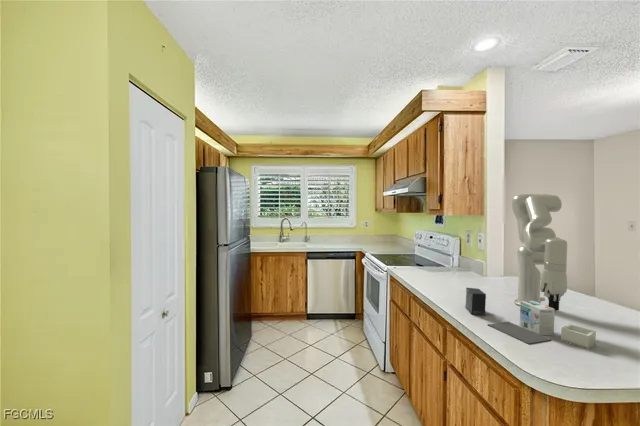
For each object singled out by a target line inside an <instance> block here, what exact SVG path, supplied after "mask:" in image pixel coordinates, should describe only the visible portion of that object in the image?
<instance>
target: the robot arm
mask: <svg viewBox="0 0 640 426" xmlns="http://www.w3.org/2000/svg"><path fill="white" fill-rule="evenodd" d="M511 200H512V201H511V207H512V212H513V214H514V216H515V218H516V222H517V230H518V231H517V232H518V233H517V234H518V238H519V241H520V243H522V244H524V245H523V246H520V247H519V248H518V249H517V251H516V254H517V262H518V283H517V284H518V287H517V298H516V299H515V300H514V301H513V302H514V304H515V305H517V306H519V307H521V301H536V302H538V303H541V304H542V302H545V301H546V298H545V297H547V301H548V305H547V306H548V307H551V308H553V309H555V311H556V312H558V311H559V310H560V301H561V298H562V297H563V296H564V295H565V294H566V293H567V290H568V276H567V267H568V266H567V264H568V263H567V262H568V261H567V260H568V242H567V240H566V239H562V238H560V237H558V236H557V235H556V233H555V231H554V230H553V229H552V228H551V227H548V226H549V225H550V224H551V223H552V221H553V219H552V216H551V213H557V212H559V211H560V210H561V209H562V205H563V204H562V200H561V199H560V197H559V196H558V195H556V194H545V193H544V194H543V193H541V194H540V193H537V194H534V193H529V194H528V193H524V194H523V193H521V194H517V195H515V196H513V198H512V199H511ZM546 226H547V227H546ZM537 265H540V266H542V265H543V270H542V273H541V271H540V270H539V269H538V267H537ZM541 293H543V296H544V297H543V296H542V297H541Z"/></svg>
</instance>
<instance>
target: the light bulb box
mask: <svg viewBox="0 0 640 426" xmlns="http://www.w3.org/2000/svg"><path fill="white" fill-rule="evenodd" d="M548 306H549V305H545V304H543V303H542V302H541V303H538V302H536V301H521V306H519V307H520V308H519V309H520V310H519V311H520V312H519V326H520V327H523V328H525V329H527V330H530V331H532V332H535V333H537V334H539V335H542V336H554V335H555V315H556V314H555V309H553V308H551V307H548Z"/></svg>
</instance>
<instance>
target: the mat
mask: <svg viewBox="0 0 640 426" xmlns="http://www.w3.org/2000/svg"><path fill="white" fill-rule="evenodd" d="M487 326H488V327H491V328H493V329H495V330H497V331H499V332H501V333H503V334H506V335H508V336H510V337H512V338H514V339H516V340H517V341H521V342H523V343H525V344H527V345H532V344H537V343H538V344H539V343H545V342H550V341H552V339H551V338H548V337H546V336H545V335H539V334H537V333H535V332H532V331H530V330H529V329H527V328H525V327H523V326H521V325H518V324H515V323H513V322H511V321H502V322H496V323H488V324H487Z"/></svg>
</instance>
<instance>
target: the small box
mask: <svg viewBox="0 0 640 426" xmlns="http://www.w3.org/2000/svg"><path fill="white" fill-rule="evenodd" d="M486 299H487V294H486V293H485V292H484V291H482V290H481V289H480V288H476V287H465V306H464V307H465V309H466V310H467V311H468V312H469V314H470V315H475V316H476V315H477V316H486V302H487V301H486Z"/></svg>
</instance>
